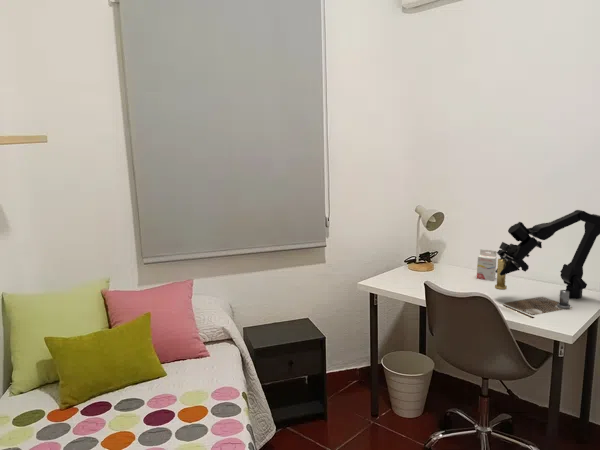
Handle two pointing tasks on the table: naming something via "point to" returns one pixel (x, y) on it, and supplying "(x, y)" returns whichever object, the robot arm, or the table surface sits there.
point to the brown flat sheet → (534, 311)
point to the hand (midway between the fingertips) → (498, 273)
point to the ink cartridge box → (486, 265)
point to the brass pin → (500, 278)
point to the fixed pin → (564, 300)
